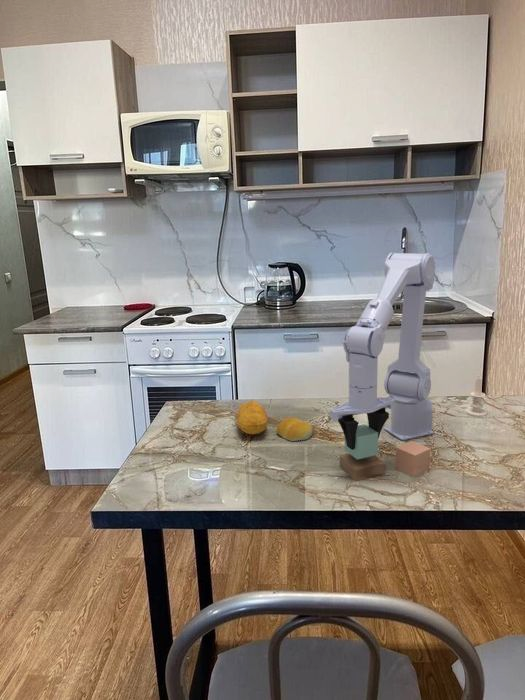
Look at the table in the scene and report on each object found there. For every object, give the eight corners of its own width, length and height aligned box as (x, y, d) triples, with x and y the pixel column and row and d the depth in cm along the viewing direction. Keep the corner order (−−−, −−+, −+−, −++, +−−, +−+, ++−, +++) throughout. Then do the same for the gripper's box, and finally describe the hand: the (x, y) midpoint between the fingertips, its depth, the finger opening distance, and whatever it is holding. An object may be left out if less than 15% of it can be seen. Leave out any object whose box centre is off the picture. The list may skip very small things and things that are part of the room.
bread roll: (296, 445, 125) (296, 430, 124) (271, 434, 132) (271, 419, 131) (320, 435, 131) (320, 420, 130) (295, 425, 137) (295, 410, 136)
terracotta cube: (410, 461, 115) (411, 440, 114) (429, 469, 111) (430, 448, 110) (395, 468, 112) (396, 447, 111) (414, 477, 109) (415, 455, 107)
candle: (463, 409, 143) (466, 373, 140) (483, 409, 142) (486, 373, 139) (468, 416, 138) (471, 379, 135) (489, 417, 137) (492, 379, 134)
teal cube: (364, 445, 114) (364, 424, 113) (377, 454, 110) (378, 432, 109) (344, 450, 113) (344, 428, 111) (357, 459, 108) (357, 437, 107)
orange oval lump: (264, 419, 141) (263, 395, 140) (270, 440, 128) (269, 414, 126) (235, 421, 141) (234, 397, 139) (239, 443, 127) (238, 417, 126)
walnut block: (367, 461, 116) (368, 449, 116) (384, 476, 110) (385, 463, 109) (339, 467, 114) (339, 455, 113) (355, 482, 108) (355, 469, 107)
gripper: (381, 373, 113) (380, 431, 117) (322, 384, 108) (322, 444, 112) (401, 382, 107) (399, 443, 110) (339, 394, 102) (339, 458, 105)
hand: (362, 445), depth 111 cm, fingers closed on teal cube, 5 cm apart
